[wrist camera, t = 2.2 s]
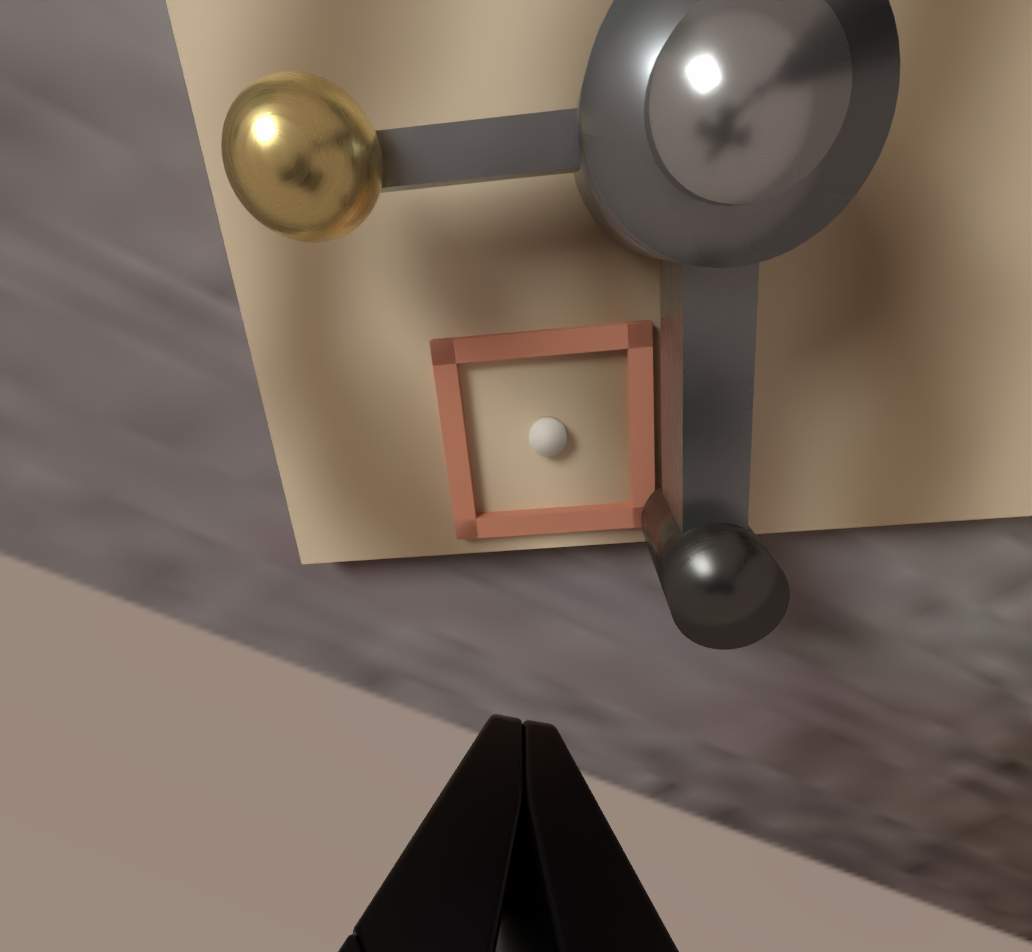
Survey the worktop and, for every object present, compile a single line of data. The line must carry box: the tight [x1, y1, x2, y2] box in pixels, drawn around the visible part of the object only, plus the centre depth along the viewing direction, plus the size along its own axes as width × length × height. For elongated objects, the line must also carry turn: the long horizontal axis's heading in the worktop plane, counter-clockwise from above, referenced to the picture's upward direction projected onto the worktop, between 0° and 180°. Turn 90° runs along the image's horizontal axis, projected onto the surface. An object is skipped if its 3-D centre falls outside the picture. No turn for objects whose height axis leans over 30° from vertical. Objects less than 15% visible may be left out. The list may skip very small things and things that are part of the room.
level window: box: [429, 320, 655, 540], centre depth 16 cm, size 6×6×1 cm
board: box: [166, 0, 1032, 564], centre depth 15 cm, size 21×20×1 cm
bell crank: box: [221, 0, 900, 649], centre depth 12 cm, size 11×20×5 cm, turn 5°
